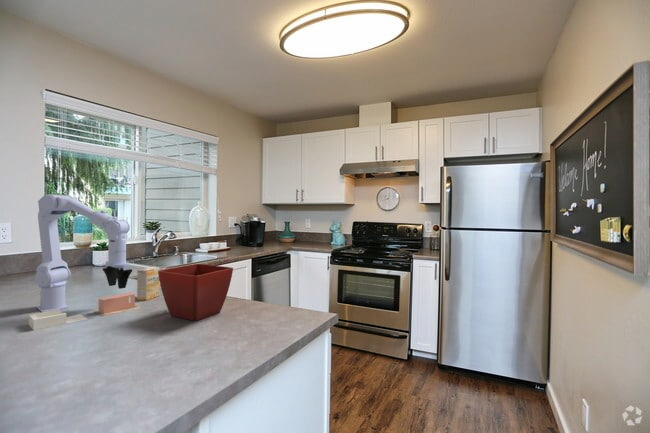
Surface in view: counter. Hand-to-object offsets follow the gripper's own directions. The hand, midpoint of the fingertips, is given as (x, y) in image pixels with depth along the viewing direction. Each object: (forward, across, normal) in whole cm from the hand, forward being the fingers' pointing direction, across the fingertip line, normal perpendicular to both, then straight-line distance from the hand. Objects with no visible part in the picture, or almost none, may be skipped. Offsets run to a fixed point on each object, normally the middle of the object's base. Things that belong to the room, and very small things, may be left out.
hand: (117, 286), depth 122 cm
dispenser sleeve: (+9, -1, -15) cm, 17 cm away
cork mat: (+9, 0, 0) cm, 9 cm away
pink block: (+9, 0, 0) cm, 9 cm away
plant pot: (+9, +29, +14) cm, 34 cm away
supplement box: (+9, -7, +16) cm, 20 cm away
